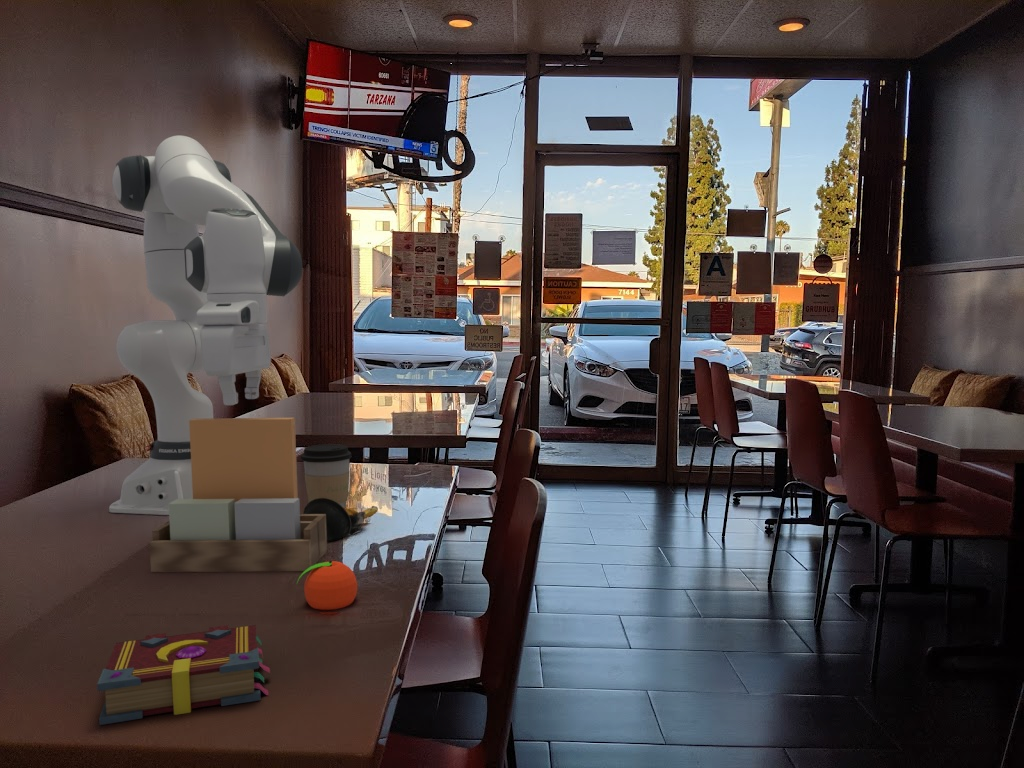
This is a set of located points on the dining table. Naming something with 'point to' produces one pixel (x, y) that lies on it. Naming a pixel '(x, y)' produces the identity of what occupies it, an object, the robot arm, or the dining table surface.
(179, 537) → the offcut sage
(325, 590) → the clementine
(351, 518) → the fried shrimp in bowl
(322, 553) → the rack
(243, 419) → the tall sheet
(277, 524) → the offcut slate
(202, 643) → the decorative book
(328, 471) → the coffee cup
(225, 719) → the dining table surface
